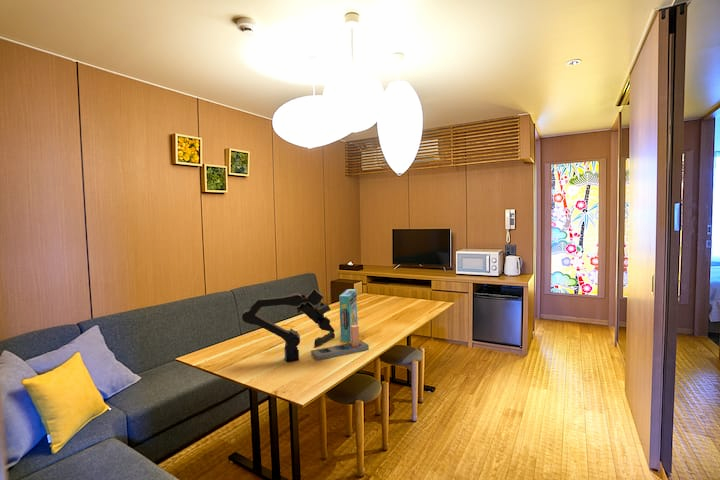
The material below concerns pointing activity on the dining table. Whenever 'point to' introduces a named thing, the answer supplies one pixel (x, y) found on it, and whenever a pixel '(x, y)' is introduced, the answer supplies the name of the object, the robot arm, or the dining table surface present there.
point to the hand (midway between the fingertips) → (331, 329)
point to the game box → (348, 313)
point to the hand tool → (323, 339)
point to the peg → (354, 335)
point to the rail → (338, 350)
